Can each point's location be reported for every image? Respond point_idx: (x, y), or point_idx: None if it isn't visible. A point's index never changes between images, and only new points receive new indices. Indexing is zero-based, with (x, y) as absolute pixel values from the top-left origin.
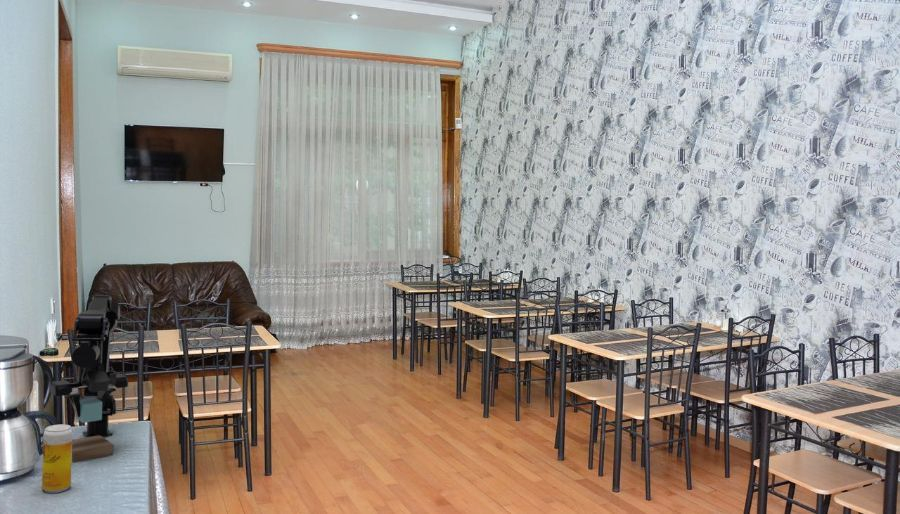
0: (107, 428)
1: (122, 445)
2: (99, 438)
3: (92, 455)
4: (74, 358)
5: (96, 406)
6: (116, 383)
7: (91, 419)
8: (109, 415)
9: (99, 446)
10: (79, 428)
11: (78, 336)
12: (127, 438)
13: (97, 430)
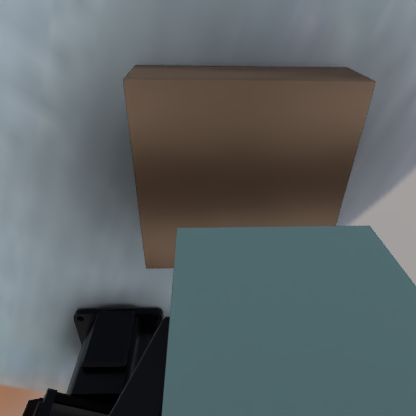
0: (85, 342)
1: (58, 186)
2: (162, 225)
3: (252, 70)
4: None
5: (261, 374)
6: None
7: (285, 240)
8: (61, 393)
9: (212, 87)
10: None
11: None
12: (23, 257)
13: (130, 332)
